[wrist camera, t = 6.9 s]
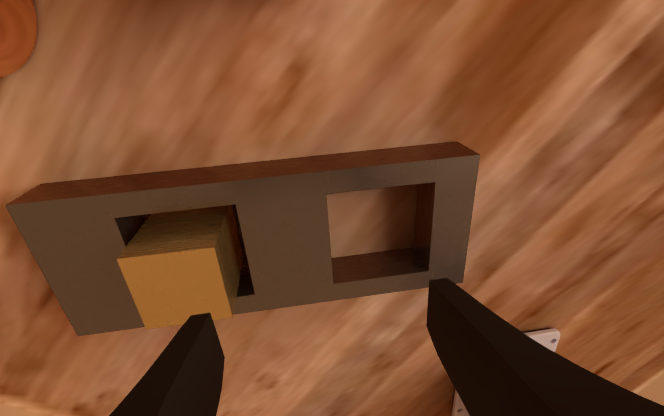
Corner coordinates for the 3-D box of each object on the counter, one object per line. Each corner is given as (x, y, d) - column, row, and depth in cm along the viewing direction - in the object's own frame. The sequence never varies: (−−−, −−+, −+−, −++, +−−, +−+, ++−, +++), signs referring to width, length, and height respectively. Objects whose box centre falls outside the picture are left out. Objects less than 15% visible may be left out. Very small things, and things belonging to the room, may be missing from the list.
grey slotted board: (457, 141, 19) (480, 154, 17) (445, 258, 23) (462, 282, 20) (41, 184, 17) (5, 205, 15) (100, 304, 21) (77, 336, 18)
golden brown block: (243, 258, 21) (232, 317, 16) (176, 266, 20) (145, 329, 16) (230, 198, 19) (214, 247, 14) (156, 206, 19) (116, 259, 14)
